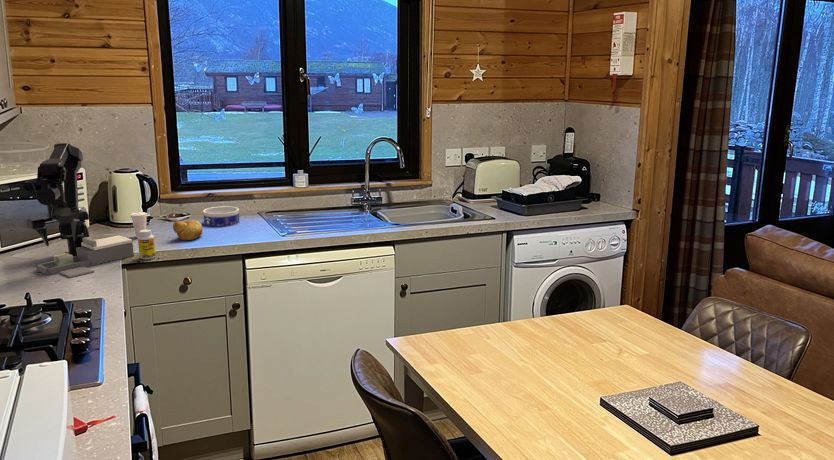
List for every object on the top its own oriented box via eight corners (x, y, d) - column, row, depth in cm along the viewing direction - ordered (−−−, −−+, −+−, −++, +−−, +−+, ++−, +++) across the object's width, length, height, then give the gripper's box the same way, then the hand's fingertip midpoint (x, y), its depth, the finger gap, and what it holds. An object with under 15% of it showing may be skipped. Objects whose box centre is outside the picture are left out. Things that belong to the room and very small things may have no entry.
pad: (59, 273, 232) (59, 271, 232) (83, 267, 238) (83, 266, 238) (70, 278, 227) (69, 276, 227) (94, 272, 233) (93, 270, 233)
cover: (81, 245, 247) (80, 237, 246) (119, 237, 257) (118, 230, 256) (94, 250, 240) (93, 242, 240) (132, 242, 251) (131, 234, 250)
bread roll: (188, 233, 285) (187, 214, 284) (210, 234, 283) (208, 215, 281) (171, 241, 273) (170, 221, 271) (193, 242, 271) (192, 222, 269)
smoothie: (152, 235, 281) (149, 202, 278) (140, 239, 275) (137, 205, 272) (141, 234, 284) (137, 201, 280) (129, 237, 278) (125, 204, 275)
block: (55, 268, 238) (53, 255, 237) (68, 265, 241) (66, 253, 240) (61, 270, 235) (59, 258, 234) (74, 267, 239) (72, 255, 237)
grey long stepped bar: (36, 270, 235) (34, 256, 234) (122, 251, 258) (120, 238, 257) (47, 275, 230) (45, 261, 229) (133, 255, 252) (132, 242, 251)
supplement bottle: (141, 260, 246) (138, 233, 244) (138, 257, 251) (135, 230, 248) (157, 258, 249) (155, 231, 247) (154, 254, 254) (151, 228, 251)
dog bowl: (247, 221, 306) (246, 208, 305) (220, 228, 294) (219, 214, 292) (223, 217, 314) (222, 204, 313) (196, 224, 301) (195, 210, 300)
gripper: (36, 207, 220) (42, 253, 224) (93, 198, 234) (99, 241, 238) (22, 202, 227) (29, 247, 231) (79, 194, 241) (84, 236, 245)
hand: (61, 243), depth 236 cm, fingers open, 9 cm apart
